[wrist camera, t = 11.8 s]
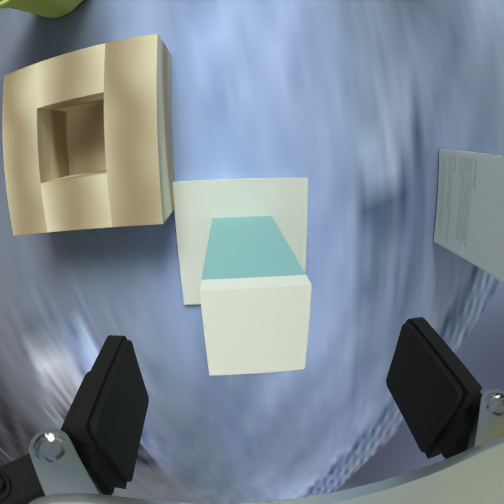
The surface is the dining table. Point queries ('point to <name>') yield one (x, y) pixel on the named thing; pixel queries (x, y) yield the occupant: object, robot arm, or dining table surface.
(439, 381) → the robot arm
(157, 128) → the socket block
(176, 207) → the mat
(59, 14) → the plant pot
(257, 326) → the plug
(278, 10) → the dining table surface
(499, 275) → the supplement box
